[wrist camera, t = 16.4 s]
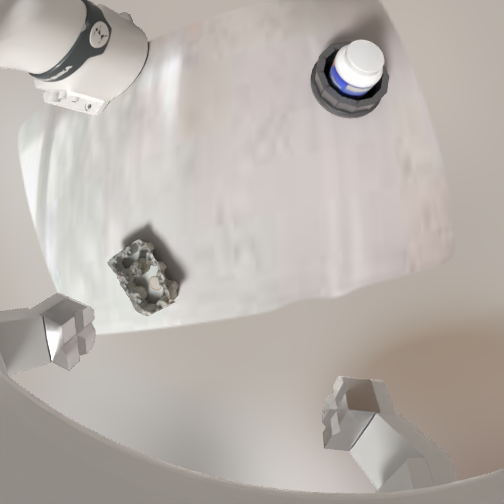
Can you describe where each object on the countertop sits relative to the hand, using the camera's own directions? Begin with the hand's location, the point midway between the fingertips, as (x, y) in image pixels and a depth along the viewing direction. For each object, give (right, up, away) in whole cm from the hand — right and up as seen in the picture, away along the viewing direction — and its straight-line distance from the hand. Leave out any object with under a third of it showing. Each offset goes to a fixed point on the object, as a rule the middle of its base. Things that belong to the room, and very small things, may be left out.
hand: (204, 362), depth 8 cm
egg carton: (-14, 0, +35) cm, 38 cm away
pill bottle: (+14, +25, +23) cm, 37 cm away
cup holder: (+14, +25, +24) cm, 37 cm away
